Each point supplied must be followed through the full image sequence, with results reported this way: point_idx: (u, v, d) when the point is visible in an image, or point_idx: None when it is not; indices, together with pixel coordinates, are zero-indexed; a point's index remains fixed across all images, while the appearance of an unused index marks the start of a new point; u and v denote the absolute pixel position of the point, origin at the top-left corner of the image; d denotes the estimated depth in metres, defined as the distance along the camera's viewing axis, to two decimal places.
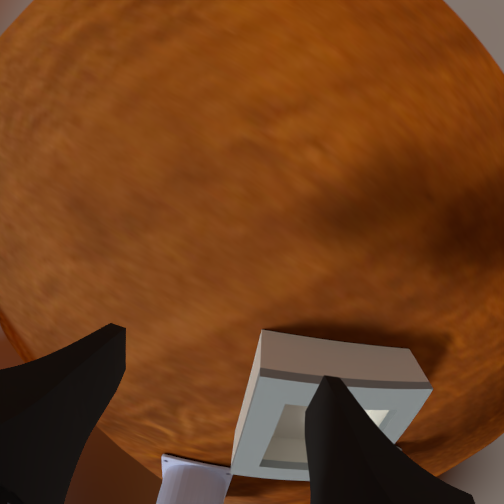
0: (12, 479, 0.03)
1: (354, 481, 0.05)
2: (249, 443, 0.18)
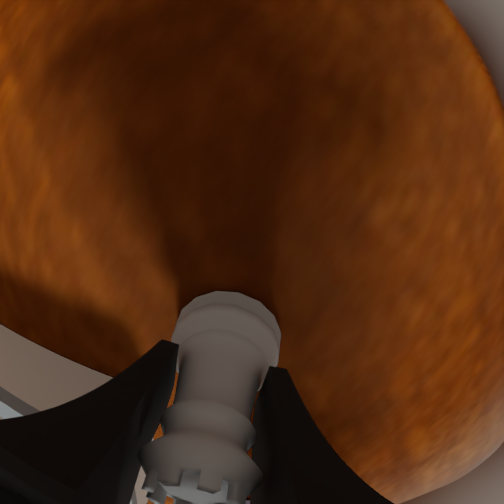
0: None
1: (277, 478, 0.05)
2: None
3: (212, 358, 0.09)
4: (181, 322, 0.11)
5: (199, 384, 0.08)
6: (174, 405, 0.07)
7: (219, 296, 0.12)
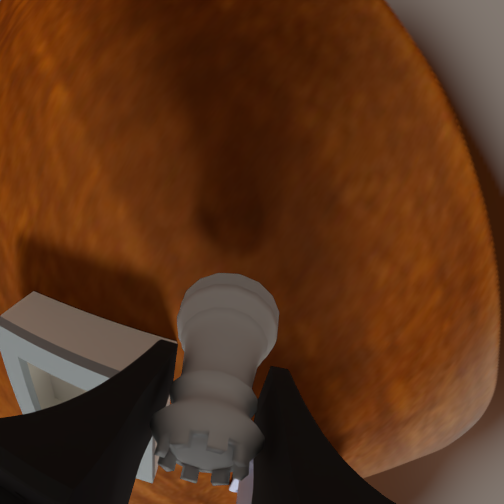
0: None
1: (279, 479, 0.05)
2: None
3: (216, 333, 0.10)
4: (186, 302, 0.12)
5: (205, 357, 0.09)
6: (183, 376, 0.08)
7: (221, 277, 0.13)
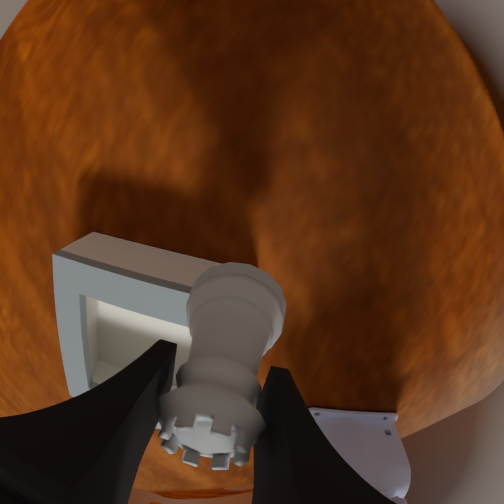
0: None
1: (280, 479, 0.05)
2: None
3: (225, 321, 0.10)
4: (196, 289, 0.12)
5: (213, 343, 0.09)
6: (190, 361, 0.09)
7: (232, 267, 0.13)
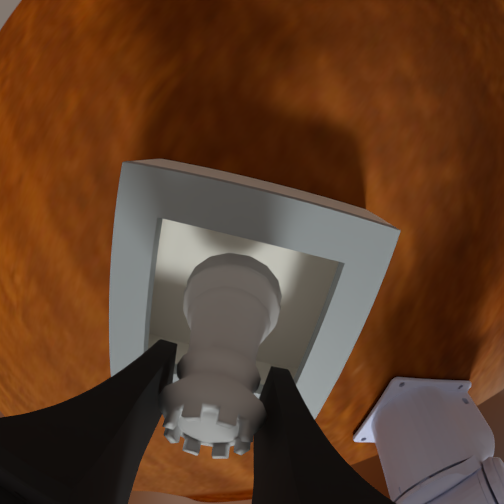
0: None
1: (279, 479, 0.05)
2: None
3: (226, 312, 0.11)
4: (195, 278, 0.12)
5: (215, 334, 0.10)
6: (193, 351, 0.09)
7: (231, 257, 0.13)
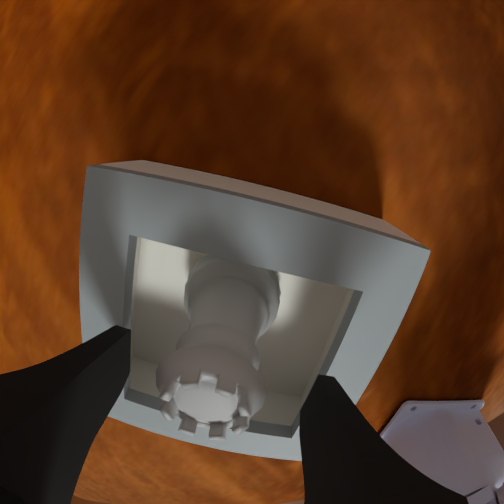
0: (19, 484, 0.03)
1: (347, 481, 0.05)
2: (219, 442, 0.13)
3: (226, 297, 0.11)
4: (197, 270, 0.13)
5: (215, 315, 0.10)
6: (194, 327, 0.09)
7: None
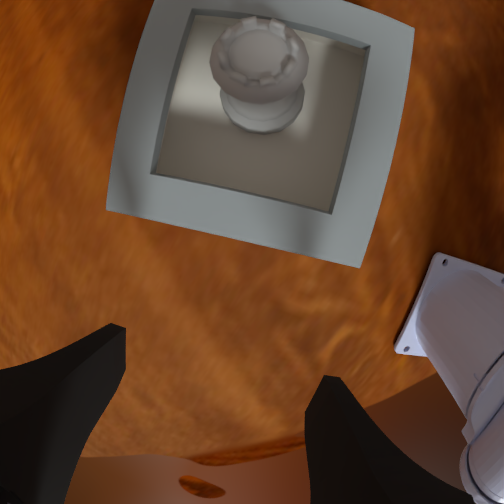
0: (12, 479, 0.03)
1: (354, 481, 0.05)
2: (250, 226, 0.13)
3: None
4: None
5: None
6: None
7: None
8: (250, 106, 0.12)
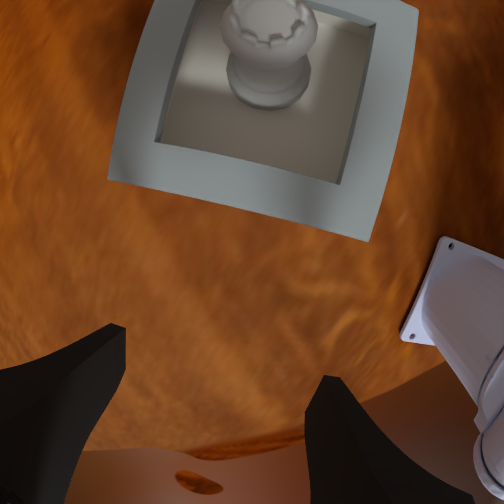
0: (12, 479, 0.03)
1: (354, 481, 0.05)
2: (256, 196, 0.12)
3: None
4: None
5: None
6: None
7: None
8: (257, 77, 0.11)
